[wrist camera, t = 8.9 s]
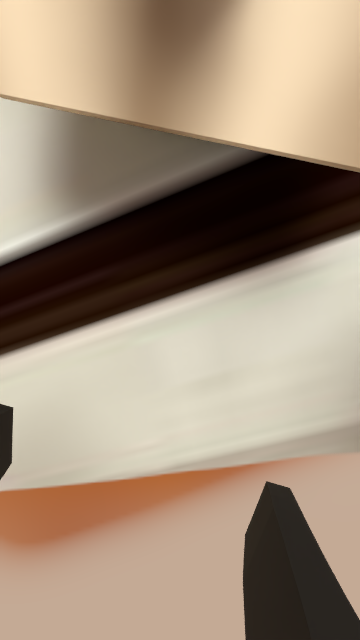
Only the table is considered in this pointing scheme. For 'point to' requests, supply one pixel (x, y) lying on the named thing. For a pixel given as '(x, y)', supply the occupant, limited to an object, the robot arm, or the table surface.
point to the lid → (196, 69)
